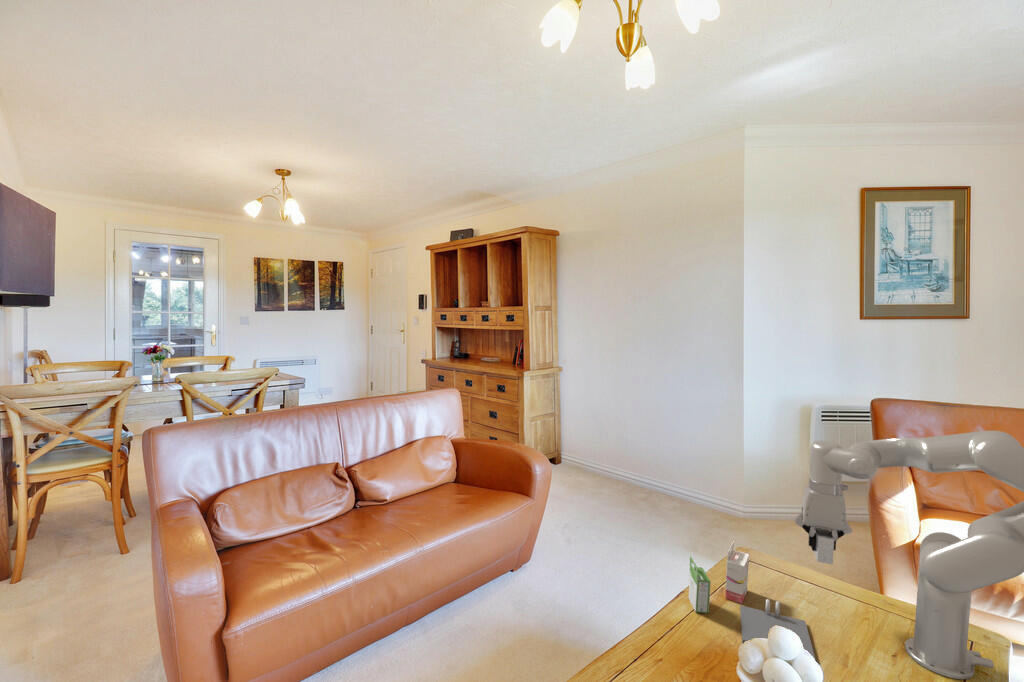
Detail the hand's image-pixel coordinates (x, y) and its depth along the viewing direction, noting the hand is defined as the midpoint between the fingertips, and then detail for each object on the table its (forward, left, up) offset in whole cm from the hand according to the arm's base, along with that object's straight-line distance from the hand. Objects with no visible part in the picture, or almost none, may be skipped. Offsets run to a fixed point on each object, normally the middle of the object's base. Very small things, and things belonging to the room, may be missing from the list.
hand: (821, 549), depth 130 cm
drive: (0, 0, -1) cm, 1 cm away
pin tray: (+12, +14, -19) cm, 27 cm away
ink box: (+31, +10, -19) cm, 38 cm away
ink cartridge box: (+21, -1, -19) cm, 28 cm away
